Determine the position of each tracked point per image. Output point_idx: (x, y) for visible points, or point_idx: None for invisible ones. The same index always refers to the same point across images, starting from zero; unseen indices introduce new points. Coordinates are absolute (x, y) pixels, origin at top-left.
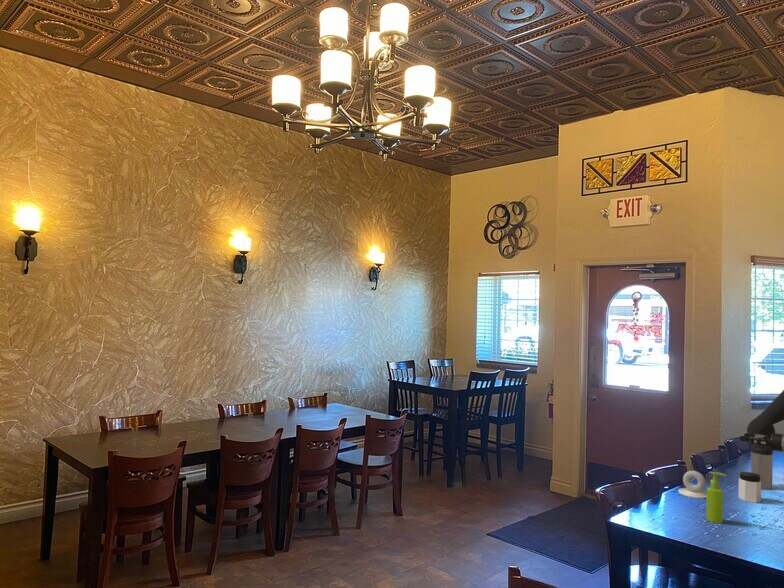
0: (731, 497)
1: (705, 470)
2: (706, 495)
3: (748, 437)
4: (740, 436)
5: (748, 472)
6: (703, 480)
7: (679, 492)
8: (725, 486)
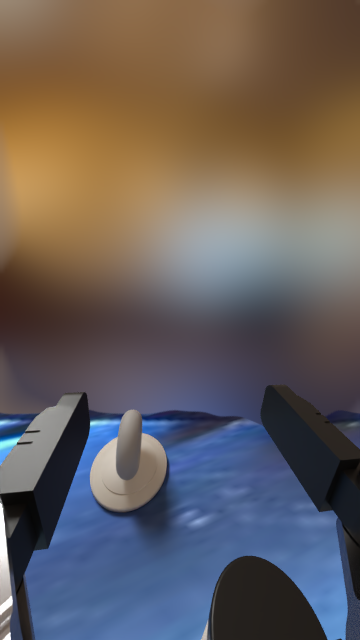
0: (197, 582)
1: (351, 416)
2: (123, 502)
3: (14, 480)
4: (67, 395)
5: (298, 604)
6: (118, 461)
7: (112, 441)
8: (301, 499)
